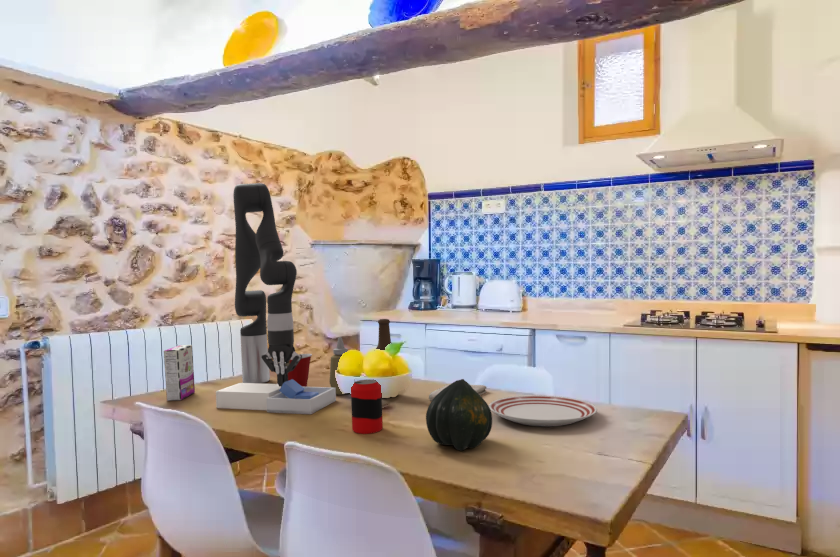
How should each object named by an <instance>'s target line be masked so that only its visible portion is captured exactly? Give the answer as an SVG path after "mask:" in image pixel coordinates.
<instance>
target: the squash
mask: <svg viewBox="0 0 840 557" xmlns="http://www.w3.org/2000/svg"><path fill="white" fill-rule="evenodd" d="M448 385H449V386H447V387H446V388H444V389H443V390H442V391H441V392H439V393H438V394H437V395H436V396H435V397H434V399H433V400H432V401H431V400H430V403H429V404H428V407H427V410H426V413H425V421H426V424H425V425H426V428H427V430H428V433H429V435H430V437H431V438H432V440H433V441H434V443H437V444H439V445H443V446H446V445H448V446H452V445H453V447H454V448H455V449H456V450H458V451H460V452H462V451H465V450H466V449H467V448H469V449H473V448H474V449H475V448H476V447H478V446H480V445H481V444H482V443H483V441H484V440H485V439H486V438H488V436H489V435H490V433H491V431H492V427H493V414H492V413H493V412H492V411H491V410H490V408H489V404H488V403H487V402H486V401H485V399H484V398H483V397H482V395H479V394H478V393H477V392H476V391H475V390H474V389H473V388H472V387H471V386H470V385H471V384H470V383H468V381H466V380H465V379H464V378H461V379H457V380H455V381H453V382H452V383H450V384H448Z"/></svg>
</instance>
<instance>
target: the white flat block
mask: <svg viewBox="0 0 840 557" xmlns="http://www.w3.org/2000/svg"><path fill="white" fill-rule="evenodd" d="M280 388H281V387H279V385H278V383H243V382H238V383H235V384H233V385H230V386H227V387H223V388H221V389H219V390H216V391H215V406H216V407H215V408H216V409H232V410H249V411H250V410H253V411H267V399H266V398H268V397H271V396H273V395H275V394H278V393H280V391H279V390H280Z"/></svg>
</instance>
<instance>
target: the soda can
mask: <svg viewBox="0 0 840 557" xmlns="http://www.w3.org/2000/svg"><path fill="white" fill-rule="evenodd" d="M350 402H351V406H350V407H351V427H352V428H351V429H352V431H353V432H354V433H356V434H360V435H366V434H367V435H368V434H369V435H370V434H376V433H379V432H381V430H382V429H383V427H384V425H383V424H384V423H383V399H382V393H381V385H380V384H379V383H378V382H377V381H376V380H374V379H360V380H354V384H353V386H352V387H351V393H350Z"/></svg>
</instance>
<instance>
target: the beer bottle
mask: <svg viewBox="0 0 840 557" xmlns="http://www.w3.org/2000/svg"><path fill="white" fill-rule="evenodd" d="M377 321H378V322H377V324H378V339H377V340H378V342H377V346H376V348H375V349H380V350H385V347H386V346H387V345H388V344H390V343H391V344H392V341H391V330H390V323H391V322H390V319H388V318H379V319H378V320H377Z"/></svg>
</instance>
